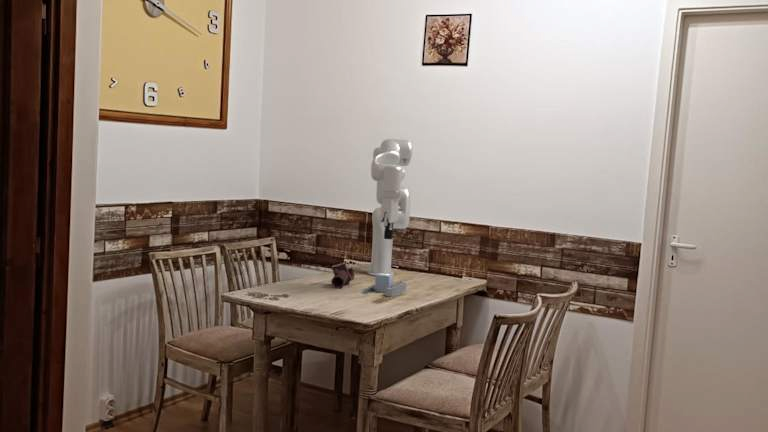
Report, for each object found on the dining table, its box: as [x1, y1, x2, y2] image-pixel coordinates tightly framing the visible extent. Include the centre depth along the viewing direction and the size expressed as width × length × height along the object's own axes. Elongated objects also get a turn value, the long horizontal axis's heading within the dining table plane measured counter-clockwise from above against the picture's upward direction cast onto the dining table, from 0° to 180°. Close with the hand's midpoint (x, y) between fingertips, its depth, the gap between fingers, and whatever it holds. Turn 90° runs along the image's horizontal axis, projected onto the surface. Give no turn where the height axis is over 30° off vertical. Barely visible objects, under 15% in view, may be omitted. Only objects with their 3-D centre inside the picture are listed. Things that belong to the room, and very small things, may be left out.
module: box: [374, 273, 394, 293], centre depth 325 cm, size 6×5×7 cm
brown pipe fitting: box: [331, 262, 355, 289], centre depth 333 cm, size 6×17×10 cm, turn 171°
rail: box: [363, 281, 407, 298], centre depth 325 cm, size 12×18×4 cm
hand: (388, 238), depth 324 cm, fingers closed
